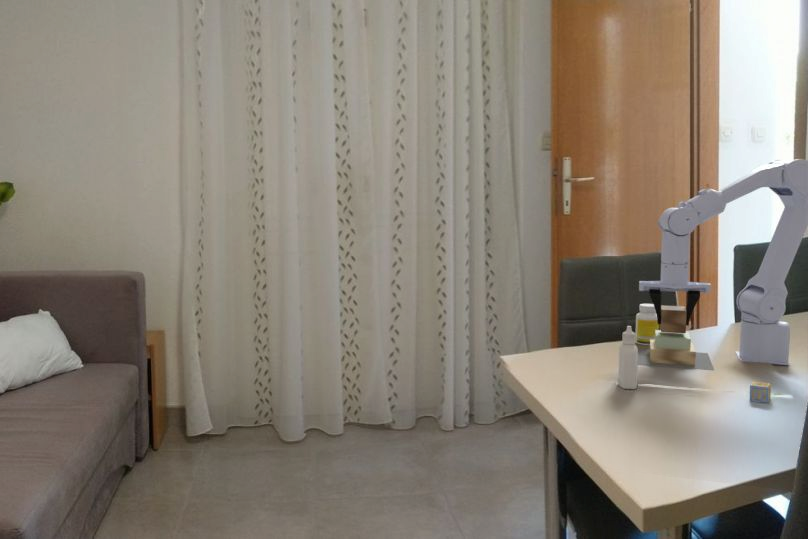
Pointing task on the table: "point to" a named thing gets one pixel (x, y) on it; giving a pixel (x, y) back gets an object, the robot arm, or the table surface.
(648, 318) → the supplement bottle
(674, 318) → the walnut cube
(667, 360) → the tower base
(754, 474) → the table surface
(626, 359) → the eye dropper bottle
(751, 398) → the alphabet block
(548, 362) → the table surface
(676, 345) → the tower top
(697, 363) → the mat
